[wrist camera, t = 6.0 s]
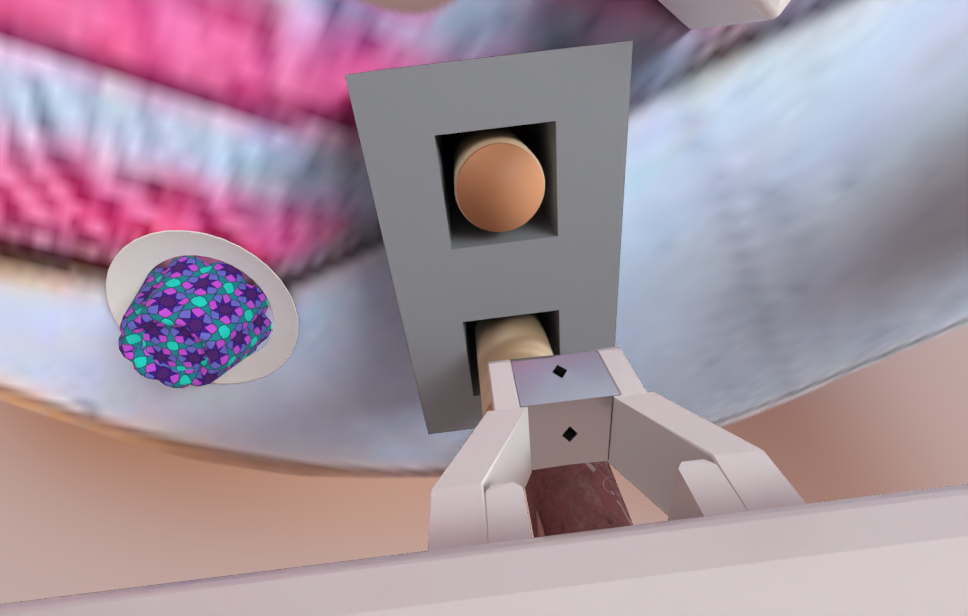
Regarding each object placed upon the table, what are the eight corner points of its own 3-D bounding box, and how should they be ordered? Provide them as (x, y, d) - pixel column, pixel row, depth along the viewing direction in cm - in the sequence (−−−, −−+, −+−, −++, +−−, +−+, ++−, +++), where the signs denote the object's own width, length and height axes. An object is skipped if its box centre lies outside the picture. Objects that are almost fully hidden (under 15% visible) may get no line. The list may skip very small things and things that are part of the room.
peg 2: (541, 296, 25) (573, 381, 18) (543, 353, 27) (573, 448, 20) (470, 305, 25) (478, 393, 18) (478, 361, 27) (488, 459, 20)
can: (522, 375, 34) (562, 546, 22) (595, 388, 36) (670, 557, 23) (500, 429, 37) (525, 608, 25) (568, 440, 38) (623, 615, 26)
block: (578, 46, 23) (633, 40, 16) (576, 336, 33) (610, 411, 26) (375, 70, 23) (344, 75, 16) (432, 355, 33) (428, 434, 26)
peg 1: (519, 115, 24) (544, 135, 18) (523, 186, 26) (547, 228, 20) (448, 124, 24) (448, 147, 18) (457, 194, 26) (460, 239, 20)
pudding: (86, 219, 26) (10, 252, 22) (291, 232, 28) (260, 266, 23) (142, 374, 32) (92, 426, 28) (309, 379, 34) (288, 430, 29)
